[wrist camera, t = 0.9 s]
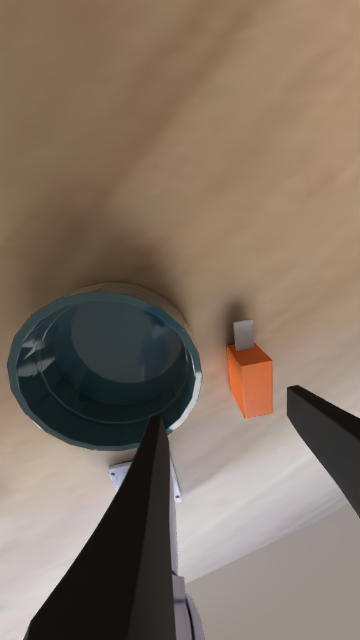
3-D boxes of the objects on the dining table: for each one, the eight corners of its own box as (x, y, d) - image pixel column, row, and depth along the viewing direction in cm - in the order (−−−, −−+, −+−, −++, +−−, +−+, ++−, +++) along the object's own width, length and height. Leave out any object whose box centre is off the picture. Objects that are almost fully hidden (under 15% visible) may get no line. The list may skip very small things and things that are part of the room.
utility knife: (254, 386, 22) (273, 413, 19) (230, 391, 22) (244, 419, 18) (250, 313, 19) (272, 328, 16) (223, 319, 19) (238, 334, 15)
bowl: (200, 394, 22) (211, 432, 17) (77, 419, 22) (53, 465, 17) (179, 268, 17) (186, 273, 13) (21, 297, 17) (-34, 314, 12)
